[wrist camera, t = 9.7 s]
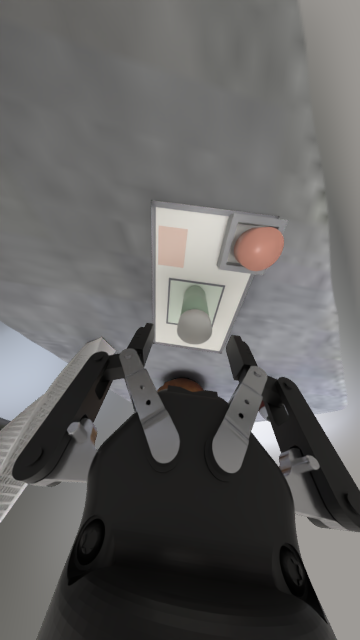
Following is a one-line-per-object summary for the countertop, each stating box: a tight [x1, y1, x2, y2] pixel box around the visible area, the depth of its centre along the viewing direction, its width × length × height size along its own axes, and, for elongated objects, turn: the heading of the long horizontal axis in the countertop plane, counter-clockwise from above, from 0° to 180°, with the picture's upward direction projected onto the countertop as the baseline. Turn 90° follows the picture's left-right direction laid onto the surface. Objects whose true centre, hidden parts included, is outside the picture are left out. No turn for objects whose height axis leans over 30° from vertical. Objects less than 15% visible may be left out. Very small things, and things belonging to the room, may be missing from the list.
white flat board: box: [151, 200, 289, 354], centre depth 23 cm, size 16×25×3 cm, turn 174°
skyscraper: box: [0, 337, 116, 523], centre depth 23 cm, size 8×8×28 cm
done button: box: [234, 227, 284, 271], centre depth 15 cm, size 4×4×3 cm
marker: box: [177, 285, 212, 345], centre depth 19 cm, size 4×4×10 cm
